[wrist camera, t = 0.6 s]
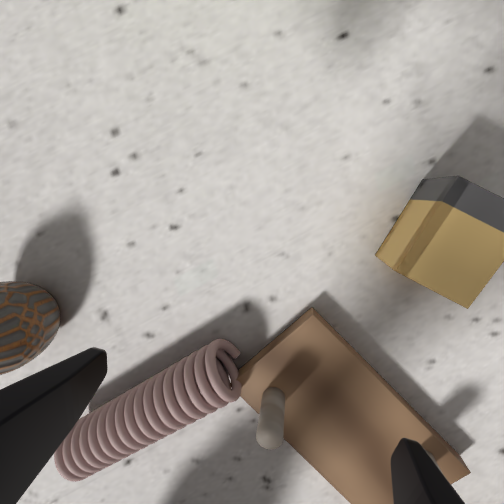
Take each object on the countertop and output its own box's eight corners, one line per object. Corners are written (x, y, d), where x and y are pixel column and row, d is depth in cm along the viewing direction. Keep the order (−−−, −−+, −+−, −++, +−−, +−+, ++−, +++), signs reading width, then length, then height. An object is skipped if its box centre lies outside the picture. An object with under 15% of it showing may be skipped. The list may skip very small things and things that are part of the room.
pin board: (371, 509, 26) (391, 591, 21) (233, 374, 25) (216, 423, 20) (460, 455, 24) (508, 531, 18) (311, 306, 23) (317, 341, 18)
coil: (207, 350, 20) (36, 449, 25) (243, 409, 20) (65, 498, 24) (227, 327, 25) (80, 414, 29) (256, 375, 25) (104, 455, 29)
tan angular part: (537, 215, 16) (467, 308, 17) (484, 210, 20) (431, 284, 22) (458, 175, 16) (395, 271, 17) (422, 179, 20) (374, 255, 22)
